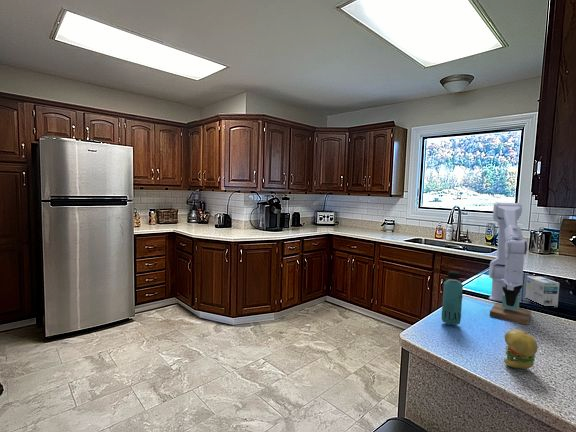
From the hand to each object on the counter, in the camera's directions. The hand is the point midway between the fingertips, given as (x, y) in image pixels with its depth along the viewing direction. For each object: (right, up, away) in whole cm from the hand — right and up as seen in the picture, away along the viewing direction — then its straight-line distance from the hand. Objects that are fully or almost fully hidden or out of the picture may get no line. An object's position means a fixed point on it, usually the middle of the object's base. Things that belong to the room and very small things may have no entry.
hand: (511, 303), depth 125 cm
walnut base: (0, -5, 0) cm, 5 cm away
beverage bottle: (-29, -6, -9) cm, 30 cm away
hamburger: (-24, -8, -37) cm, 45 cm away
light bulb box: (+24, -4, +16) cm, 30 cm away
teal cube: (0, -1, 0) cm, 2 cm away
